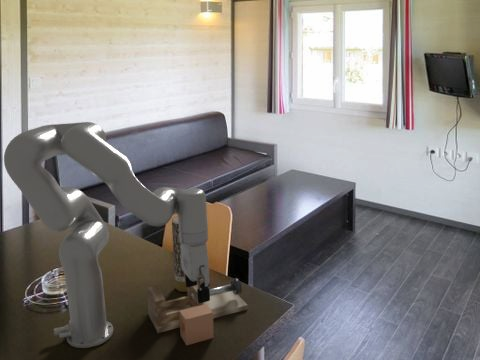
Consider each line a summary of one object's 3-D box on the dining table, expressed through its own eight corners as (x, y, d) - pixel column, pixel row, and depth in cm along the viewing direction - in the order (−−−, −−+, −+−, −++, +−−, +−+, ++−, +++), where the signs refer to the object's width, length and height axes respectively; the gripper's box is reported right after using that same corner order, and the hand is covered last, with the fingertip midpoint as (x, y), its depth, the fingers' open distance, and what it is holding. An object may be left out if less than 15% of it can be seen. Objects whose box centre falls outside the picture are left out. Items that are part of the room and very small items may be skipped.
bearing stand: (157, 333, 130) (155, 303, 127) (148, 314, 139) (146, 286, 137) (247, 309, 141) (247, 281, 139) (232, 293, 151) (232, 267, 148)
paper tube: (185, 281, 159) (182, 214, 153) (199, 287, 155) (196, 218, 149) (171, 288, 154) (167, 219, 148) (185, 295, 150) (181, 224, 144)
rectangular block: (186, 345, 124) (185, 319, 122) (180, 335, 128) (179, 310, 126) (213, 337, 127) (212, 312, 125) (207, 328, 132) (206, 303, 130)
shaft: (195, 308, 137) (194, 293, 135) (189, 300, 141) (189, 286, 140) (241, 296, 143) (241, 282, 142) (235, 289, 147) (234, 275, 146)
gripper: (170, 227, 126) (174, 283, 130) (191, 249, 111) (195, 312, 115) (195, 222, 129) (199, 277, 133) (219, 243, 114) (222, 304, 118)
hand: (197, 293), depth 124 cm, fingers open, 9 cm apart
